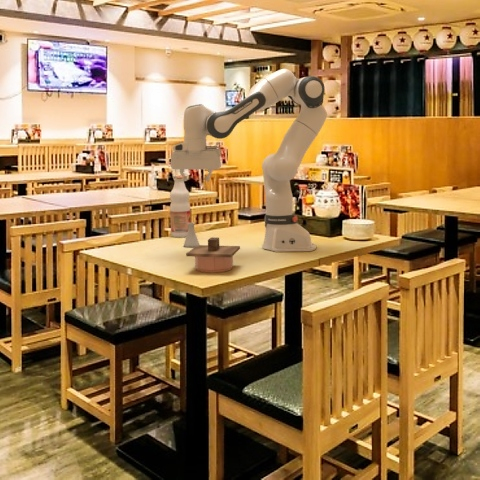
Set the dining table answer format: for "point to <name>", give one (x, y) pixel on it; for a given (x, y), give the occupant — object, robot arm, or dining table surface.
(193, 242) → the flask
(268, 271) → the dining table surface
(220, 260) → the bowl
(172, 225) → the fruit juice
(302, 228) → the robot arm
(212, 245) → the lid
